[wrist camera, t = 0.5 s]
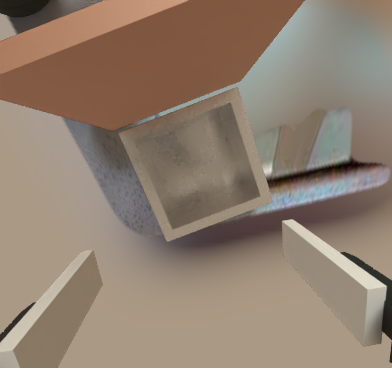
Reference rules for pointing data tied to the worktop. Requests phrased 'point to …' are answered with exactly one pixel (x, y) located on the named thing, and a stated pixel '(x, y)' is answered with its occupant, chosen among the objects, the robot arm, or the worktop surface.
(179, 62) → the lid
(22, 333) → the robot arm
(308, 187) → the worktop surface
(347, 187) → the worktop surface
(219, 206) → the box body
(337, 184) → the worktop surface
